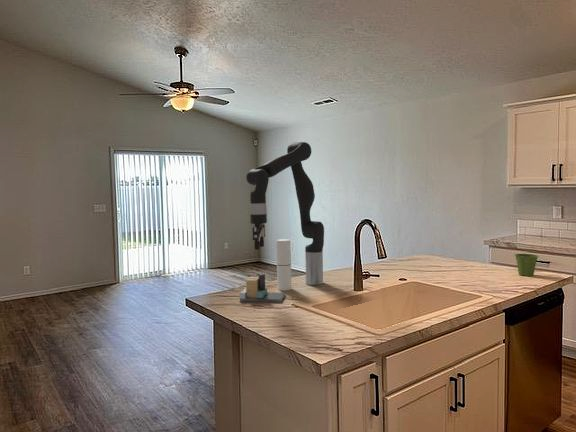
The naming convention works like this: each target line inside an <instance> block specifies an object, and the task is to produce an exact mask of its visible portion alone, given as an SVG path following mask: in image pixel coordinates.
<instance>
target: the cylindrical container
mask: <svg viewBox="0 0 576 432" xmlns="http://www.w3.org/2000/svg"><path fill="white" fill-rule="evenodd" d="M275 241H276V244H275V245H276V246H275V247H276V280H277V281H276V287H277V290H279V291H291V289H292V253H291V251H292V250H291V246H292V245H291V244H292V243H291V239H290V238H289V239H288V238H279V239H276V240H275Z"/></svg>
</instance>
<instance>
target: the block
mask: <svg viewBox="0 0 576 432" xmlns="http://www.w3.org/2000/svg"><path fill="white" fill-rule="evenodd" d="M245 288H246V295H247V297H252V298H257V292H258V291H259V276H249V277H248V278H247V279H246V280H245Z"/></svg>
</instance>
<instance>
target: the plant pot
mask: <svg viewBox="0 0 576 432" xmlns="http://www.w3.org/2000/svg"><path fill="white" fill-rule="evenodd" d="M514 256H515V261H516V266H517V272H518V275H519V276H522V277H523V276H524V277H533V276H534V274H535V269H536V265H537V261H538V257H539V256H540V255H537V254H532V253H515V254H514Z"/></svg>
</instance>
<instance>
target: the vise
mask: <svg viewBox="0 0 576 432" xmlns="http://www.w3.org/2000/svg"><path fill="white" fill-rule="evenodd" d="M285 298H286V293H285V292H270V291H269V292H268V291H267V293H266V294H265V295H264V297H263V298H252V297H247V295H246V287H244V289H243V290H242V291H240V292H239V302H240V303H270V304H271V303H274V304H275V303H277V304H281V303H282V302H283V300H285Z"/></svg>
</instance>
